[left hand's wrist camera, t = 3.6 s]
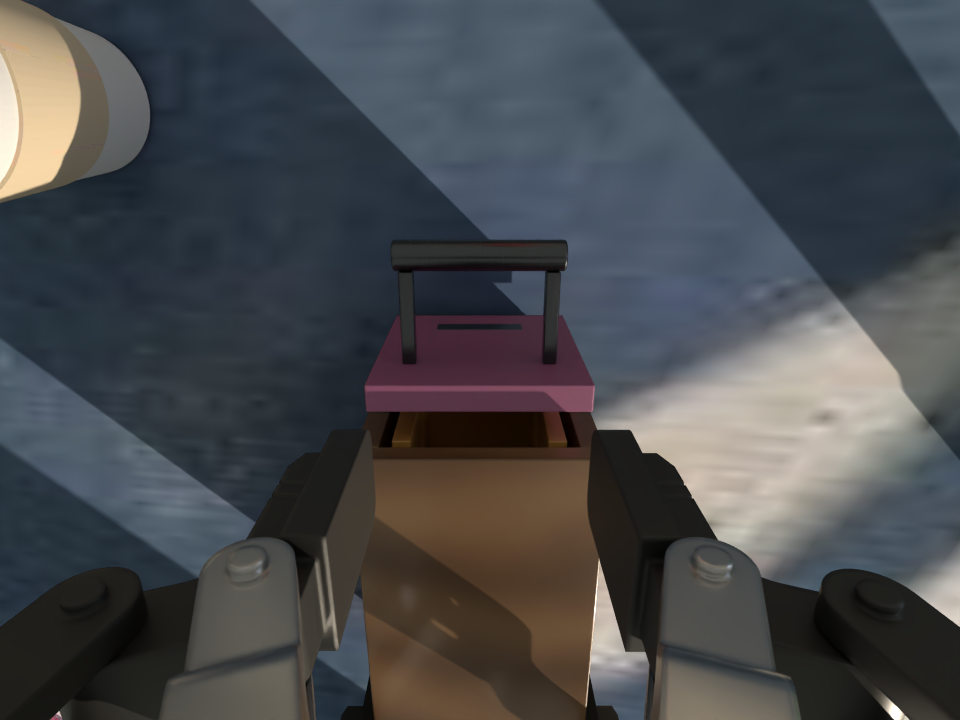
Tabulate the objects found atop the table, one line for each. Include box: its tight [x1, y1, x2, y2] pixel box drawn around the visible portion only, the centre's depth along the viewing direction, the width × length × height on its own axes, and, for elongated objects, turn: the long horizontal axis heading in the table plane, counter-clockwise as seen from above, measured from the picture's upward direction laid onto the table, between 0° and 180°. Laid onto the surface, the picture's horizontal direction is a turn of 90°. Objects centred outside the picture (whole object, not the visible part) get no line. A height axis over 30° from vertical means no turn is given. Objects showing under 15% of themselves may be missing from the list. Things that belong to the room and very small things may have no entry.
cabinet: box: [360, 412, 600, 720], centre depth 32 cm, size 21×10×12 cm, turn 0°
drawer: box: [364, 240, 595, 448], centre depth 30 cm, size 25×9×10 cm, turn 0°
